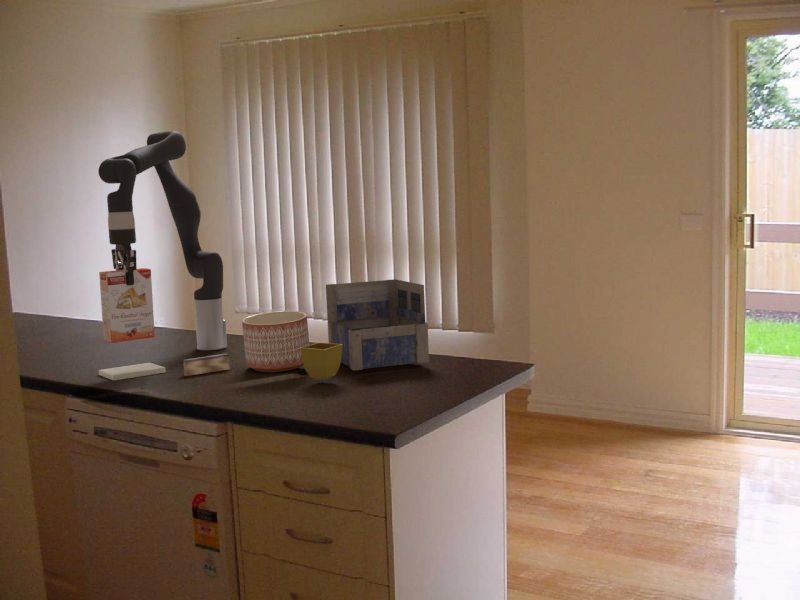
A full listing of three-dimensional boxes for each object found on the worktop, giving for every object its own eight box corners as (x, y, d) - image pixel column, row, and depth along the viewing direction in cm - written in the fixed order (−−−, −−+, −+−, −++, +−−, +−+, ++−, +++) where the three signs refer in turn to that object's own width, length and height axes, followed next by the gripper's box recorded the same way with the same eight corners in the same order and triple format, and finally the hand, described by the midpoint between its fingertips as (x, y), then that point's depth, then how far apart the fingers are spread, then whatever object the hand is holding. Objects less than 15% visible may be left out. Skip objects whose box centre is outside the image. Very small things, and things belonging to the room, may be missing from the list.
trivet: (150, 367, 292) (149, 362, 292) (165, 372, 282) (165, 367, 282) (99, 374, 283) (98, 370, 282) (113, 380, 273) (112, 375, 273)
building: (429, 361, 283) (426, 284, 281) (353, 370, 275) (349, 291, 272) (400, 350, 305) (397, 279, 302) (329, 358, 296) (325, 284, 293)
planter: (238, 375, 275) (234, 325, 272) (256, 358, 294) (251, 312, 291) (303, 373, 273) (299, 323, 270) (316, 356, 292) (312, 309, 289)
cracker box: (112, 344, 275) (106, 272, 272) (103, 342, 279) (97, 271, 277) (156, 337, 284) (151, 268, 281) (147, 335, 288) (141, 267, 286)
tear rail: (227, 368, 285) (226, 353, 284) (229, 369, 284) (229, 354, 283) (184, 375, 277) (183, 359, 276) (186, 376, 275) (185, 360, 275)
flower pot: (326, 381, 260) (324, 349, 259) (300, 379, 264) (299, 347, 263) (344, 375, 267) (343, 344, 266) (319, 373, 272) (318, 342, 271)
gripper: (143, 227, 274) (147, 284, 276) (125, 226, 285) (129, 281, 287) (118, 228, 269) (122, 287, 271) (100, 228, 281) (105, 284, 283)
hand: (126, 284), depth 279 cm, fingers closed on cracker box, 6 cm apart
